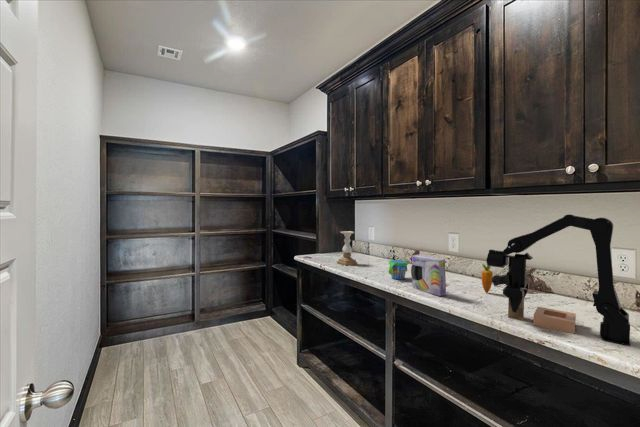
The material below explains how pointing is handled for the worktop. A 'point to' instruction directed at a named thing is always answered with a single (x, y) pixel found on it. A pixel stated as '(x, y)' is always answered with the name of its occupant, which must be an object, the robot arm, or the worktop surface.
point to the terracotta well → (555, 319)
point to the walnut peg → (519, 313)
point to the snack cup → (398, 269)
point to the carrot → (487, 278)
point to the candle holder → (347, 250)
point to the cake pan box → (429, 274)
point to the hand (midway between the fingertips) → (516, 309)
